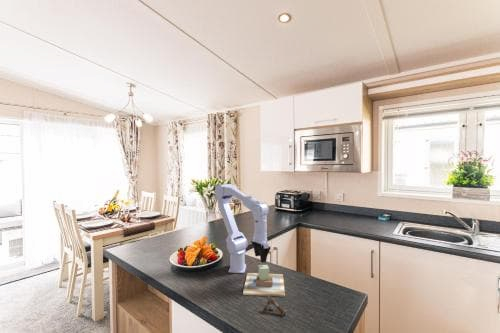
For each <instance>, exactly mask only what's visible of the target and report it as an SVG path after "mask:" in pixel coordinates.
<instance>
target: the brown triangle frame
mask: <svg viewBox="0 0 500 333" xmlns="http://www.w3.org/2000/svg"><path fill="white" fill-rule="evenodd" d="M266 297H267V302H266V304H265V307H266V308H267V307H268V308H269V310H271V311H273V312H274V311H275V309H277V310H278V311H279V312H280V313H281V316H282V317H283V316H284V315H285V314H286V313H287V311H288V310H287V309H283V307H280V305H279V304H278V303H277V302H276V301H275V300H274V299H273V296H266ZM270 304H272V305H270ZM274 307H275V308H274Z"/></svg>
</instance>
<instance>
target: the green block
mask: <svg viewBox="0 0 500 333" xmlns="http://www.w3.org/2000/svg"><path fill="white" fill-rule="evenodd" d="M257 267H258V277H259V279H260V281H262V280H269V274H270V267H269V265H268V264H260V265H259V264H258V266H257Z"/></svg>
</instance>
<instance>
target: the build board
mask: <svg viewBox="0 0 500 333" xmlns="http://www.w3.org/2000/svg"><path fill="white" fill-rule="evenodd" d="M284 281H285V280H284V275H283V274H282V273H269V280H262V281H260V279H259V277H258V273H256V272H247V273H246V277H245V283H244V287H243V292H242V295H243V296H259V297H262V296H263V297H268V296H269V297H283V298H284V297H286V291H285V282H284Z"/></svg>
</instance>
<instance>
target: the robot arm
mask: <svg viewBox="0 0 500 333" xmlns="http://www.w3.org/2000/svg"><path fill="white" fill-rule="evenodd" d="M214 188H215V189H214V191H213V192H214V193H213V194H214V195H215V198H216V202H217V205H218V208H219V211H220V214H221V217H222V220H223V222H224V226H225V228H226V231H227V234H228V235H227V237H226V238H225V242H226V249H227V251H228V253H230V255H229V256H230V257H229V258H230V260H229V263H230V267H229V269H228V271H227V272H228V273H233V274H245V272H246V269H247V264H246V263H245V259H246V257H245V256H246V254H245V252H246V249H247V248H248V246H249V243H248V240H247V238H246V237H245V235H244V233H243V232H241V231H239V228H238V226H237V223H236V219H235V217H234V214H233V211H232V209H231V206H230V201H231V199H232V198H233V197H234V198H235V199H237V200H239V201H241V202H242V205H243V206H244V207H245V208H246V209H248V210H249V211H251V214H252V216H253V221H254V222H253V223H254V224H253V225H254V234H253V237H252V239H251V241H250V242H251V245H252V248H253V252H254V256H255V257H260V262H261V263H267V259H268V255H269V252H270V250H271V248H272V247H271V246H269V243H268V242H269V241H268V234H267V229H268V224H267V223H268V218H267V216H268V214H269V212H270V207H269V206H270V205H268V204H267V203H266V202H261V201H260V200H257V199H256V198H255V197H254V196H253V195H249V194H248V195H246V194H245V193H243V192H242V191H241V190H240V189H238V188H237V186H236V185H235V184H233V183H227V184H226V183H223V184H217V185H216V186H215V187H214Z"/></svg>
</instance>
